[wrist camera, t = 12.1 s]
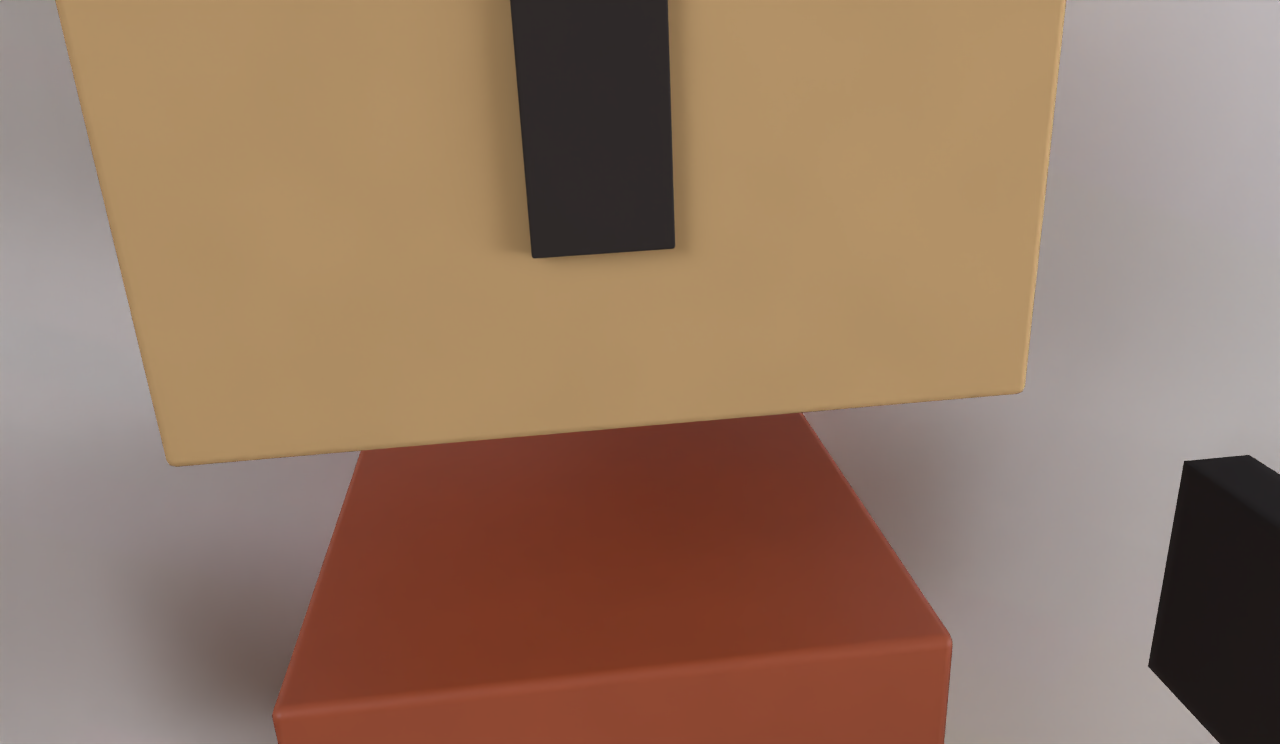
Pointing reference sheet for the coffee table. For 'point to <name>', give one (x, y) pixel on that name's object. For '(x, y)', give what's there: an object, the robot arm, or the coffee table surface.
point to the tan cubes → (563, 209)
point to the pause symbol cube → (614, 598)
